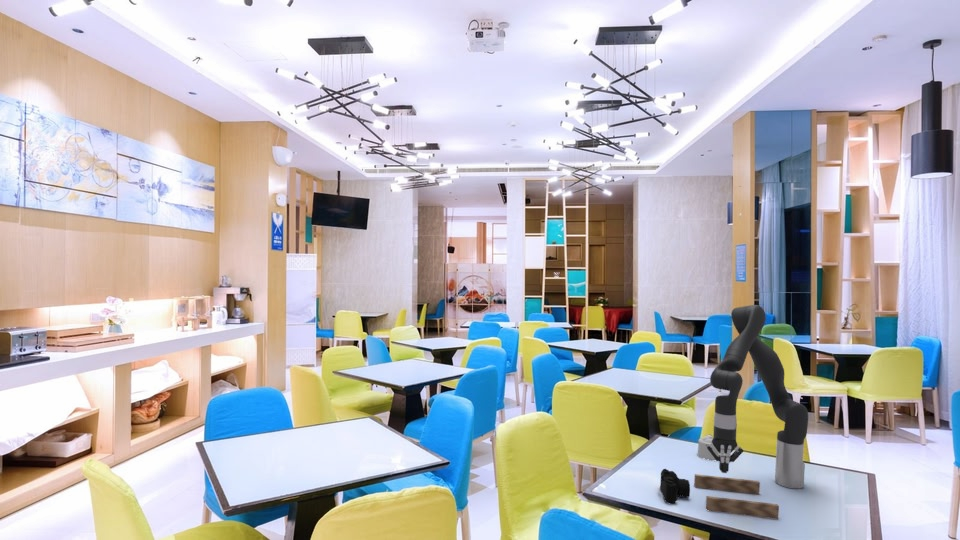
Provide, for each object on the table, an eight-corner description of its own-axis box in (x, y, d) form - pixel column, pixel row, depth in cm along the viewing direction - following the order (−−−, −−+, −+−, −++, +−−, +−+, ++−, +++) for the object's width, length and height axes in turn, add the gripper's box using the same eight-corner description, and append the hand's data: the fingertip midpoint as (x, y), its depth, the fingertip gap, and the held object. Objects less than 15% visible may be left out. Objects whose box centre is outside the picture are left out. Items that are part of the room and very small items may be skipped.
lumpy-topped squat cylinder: (732, 461, 232) (733, 441, 232) (705, 461, 231) (706, 441, 231) (719, 452, 243) (720, 433, 243) (692, 452, 241) (693, 433, 241)
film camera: (692, 507, 186) (693, 482, 186) (664, 503, 188) (665, 478, 188) (684, 489, 201) (685, 465, 201) (658, 486, 203) (659, 463, 203)
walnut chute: (757, 492, 200) (758, 481, 200) (778, 519, 180) (778, 506, 179) (694, 485, 204) (694, 474, 204) (706, 510, 184) (707, 497, 184)
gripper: (741, 423, 194) (739, 469, 195) (703, 420, 197) (702, 466, 197) (747, 429, 187) (746, 478, 187) (708, 427, 189) (707, 474, 190)
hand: (723, 472), depth 192 cm, fingers closed
